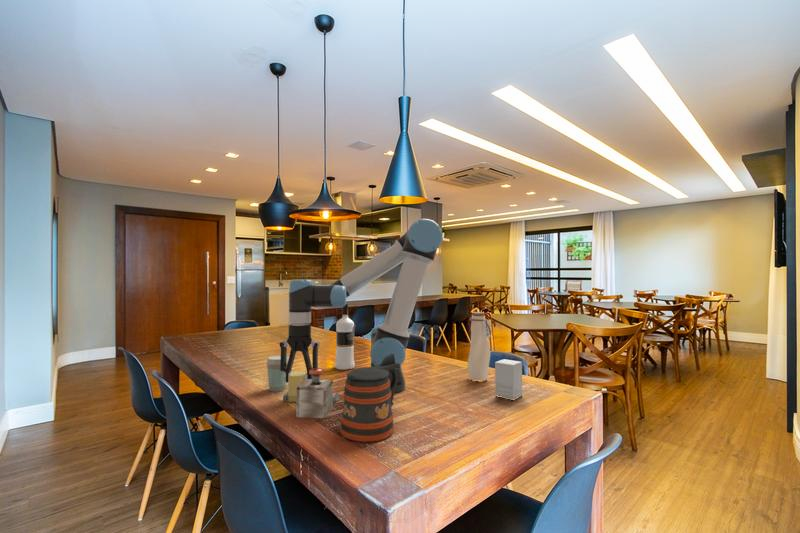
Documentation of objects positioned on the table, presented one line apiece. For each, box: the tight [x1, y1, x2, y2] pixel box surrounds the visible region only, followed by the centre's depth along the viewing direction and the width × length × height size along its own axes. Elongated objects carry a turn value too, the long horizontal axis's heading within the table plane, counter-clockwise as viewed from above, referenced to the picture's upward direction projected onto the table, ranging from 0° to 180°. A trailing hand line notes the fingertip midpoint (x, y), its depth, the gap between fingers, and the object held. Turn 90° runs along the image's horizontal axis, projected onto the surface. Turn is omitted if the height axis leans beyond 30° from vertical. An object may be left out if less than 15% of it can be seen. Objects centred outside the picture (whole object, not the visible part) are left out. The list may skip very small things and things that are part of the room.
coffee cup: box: [266, 354, 289, 393], centre depth 144 cm, size 8×9×12 cm
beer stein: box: [339, 354, 400, 443], centre depth 108 cm, size 19×15×20 cm
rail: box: [282, 391, 340, 404], centre depth 132 cm, size 18×5×2 cm, turn 87°
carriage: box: [288, 371, 307, 403], centre depth 132 cm, size 5×6×8 cm
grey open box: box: [295, 379, 334, 419], centre depth 120 cm, size 9×9×9 cm
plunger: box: [309, 367, 323, 385], centre depth 121 cm, size 4×4×5 cm
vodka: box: [334, 302, 356, 371], centre depth 179 cm, size 9×9×30 cm
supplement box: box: [494, 358, 523, 399], centre depth 138 cm, size 7×7×13 cm
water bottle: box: [467, 311, 492, 380], centre depth 161 cm, size 10×9×28 cm
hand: (298, 391), depth 132 cm, fingers closed on carriage, 5 cm apart
